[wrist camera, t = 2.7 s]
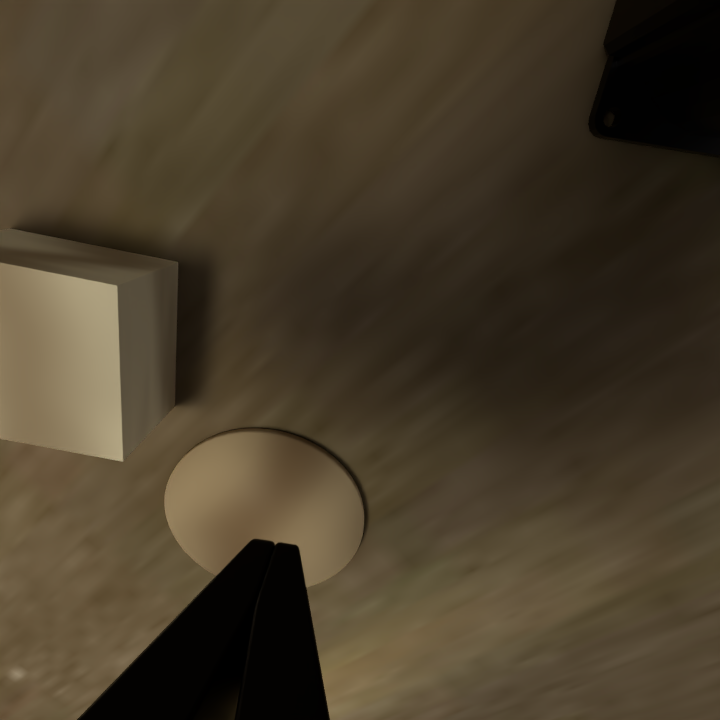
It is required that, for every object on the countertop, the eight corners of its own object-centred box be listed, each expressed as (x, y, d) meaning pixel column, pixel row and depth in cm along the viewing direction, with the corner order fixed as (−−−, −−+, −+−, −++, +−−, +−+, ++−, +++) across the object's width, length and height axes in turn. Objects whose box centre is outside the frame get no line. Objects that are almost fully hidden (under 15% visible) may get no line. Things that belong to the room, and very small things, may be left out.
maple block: (180, 261, 15) (117, 285, 12) (177, 403, 18) (123, 461, 14) (15, 228, 15) (-103, 242, 12) (33, 376, 18) (-60, 427, 14)
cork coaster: (379, 445, 18) (379, 451, 17) (349, 595, 21) (349, 603, 21) (165, 413, 18) (160, 417, 17) (170, 569, 21) (167, 576, 21)
